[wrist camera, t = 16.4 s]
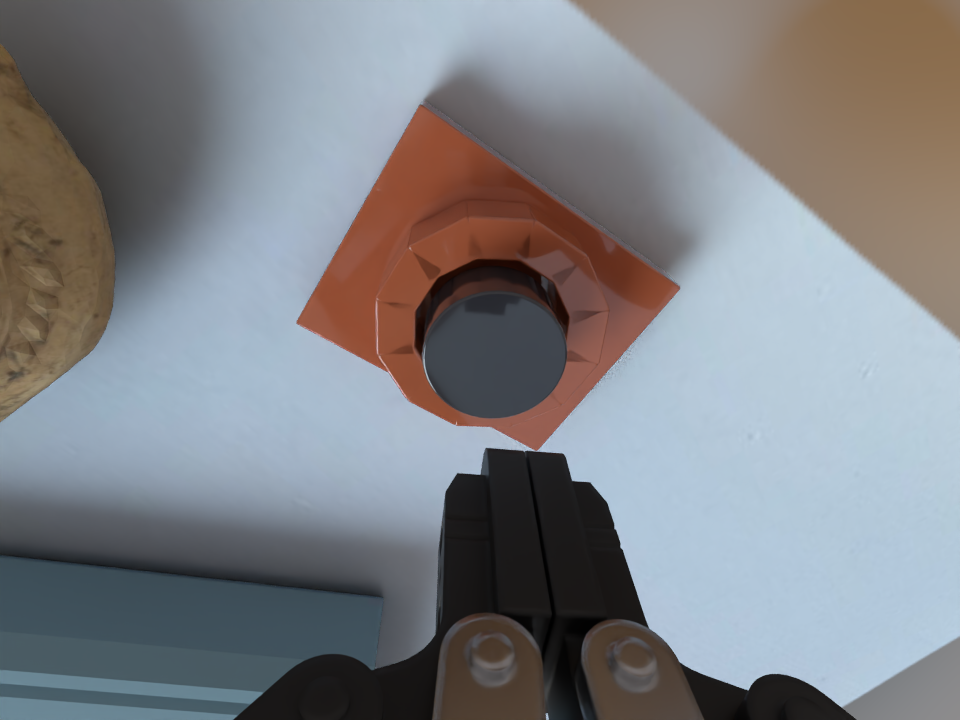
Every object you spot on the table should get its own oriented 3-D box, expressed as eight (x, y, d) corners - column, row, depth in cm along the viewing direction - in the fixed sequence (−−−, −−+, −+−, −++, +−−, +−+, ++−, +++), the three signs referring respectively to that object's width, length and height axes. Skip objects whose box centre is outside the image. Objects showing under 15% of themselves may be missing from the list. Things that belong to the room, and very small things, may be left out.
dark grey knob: (582, 309, 17) (597, 340, 15) (506, 403, 19) (512, 441, 17) (472, 238, 16) (475, 262, 14) (401, 344, 17) (394, 379, 16)
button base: (667, 272, 20) (705, 313, 17) (532, 428, 23) (544, 487, 20) (423, 99, 17) (415, 110, 14) (305, 305, 20) (278, 352, 17)
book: (-61, 732, 31) (-145, 843, 27) (-149, 522, 24) (-284, 629, 20) (349, 761, 35) (334, 865, 30) (385, 584, 27) (372, 687, 23)
